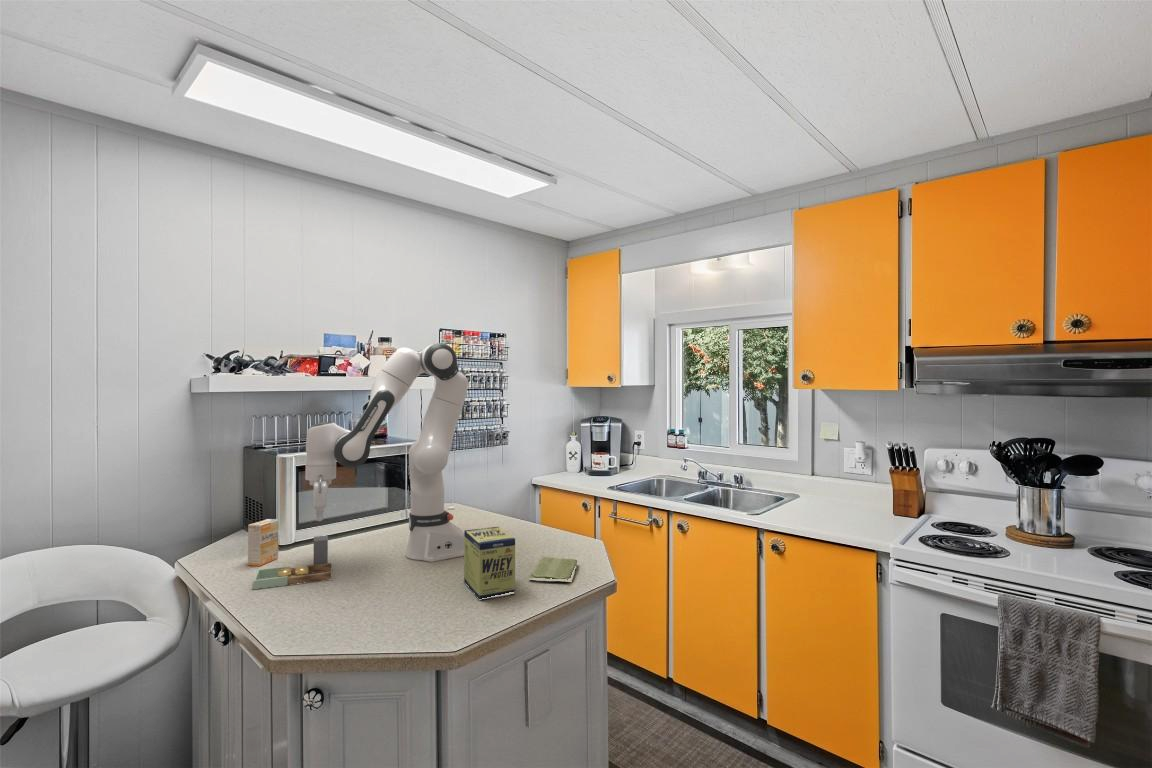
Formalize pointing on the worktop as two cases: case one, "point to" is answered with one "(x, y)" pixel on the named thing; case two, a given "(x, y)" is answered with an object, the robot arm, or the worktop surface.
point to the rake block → (320, 550)
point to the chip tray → (270, 581)
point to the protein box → (489, 561)
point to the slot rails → (311, 576)
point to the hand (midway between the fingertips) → (319, 517)
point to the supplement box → (263, 542)
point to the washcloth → (554, 568)
